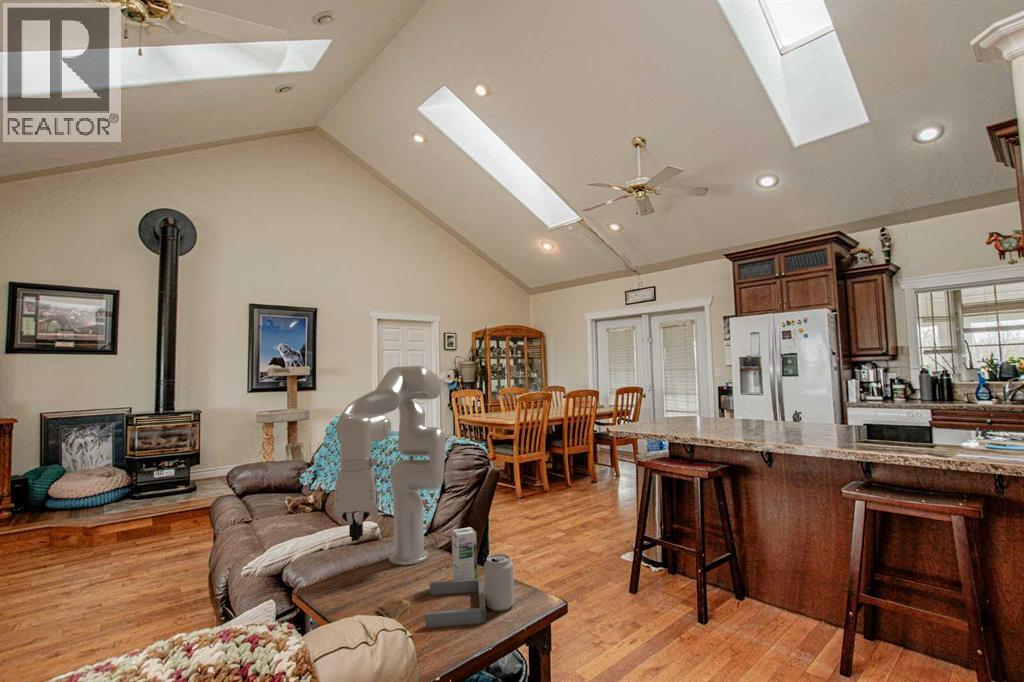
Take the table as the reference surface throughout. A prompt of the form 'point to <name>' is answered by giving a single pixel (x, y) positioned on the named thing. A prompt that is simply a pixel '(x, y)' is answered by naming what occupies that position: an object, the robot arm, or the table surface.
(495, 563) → the can
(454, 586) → the box
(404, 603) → the shard
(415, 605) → the table surface
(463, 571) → the syrup box
